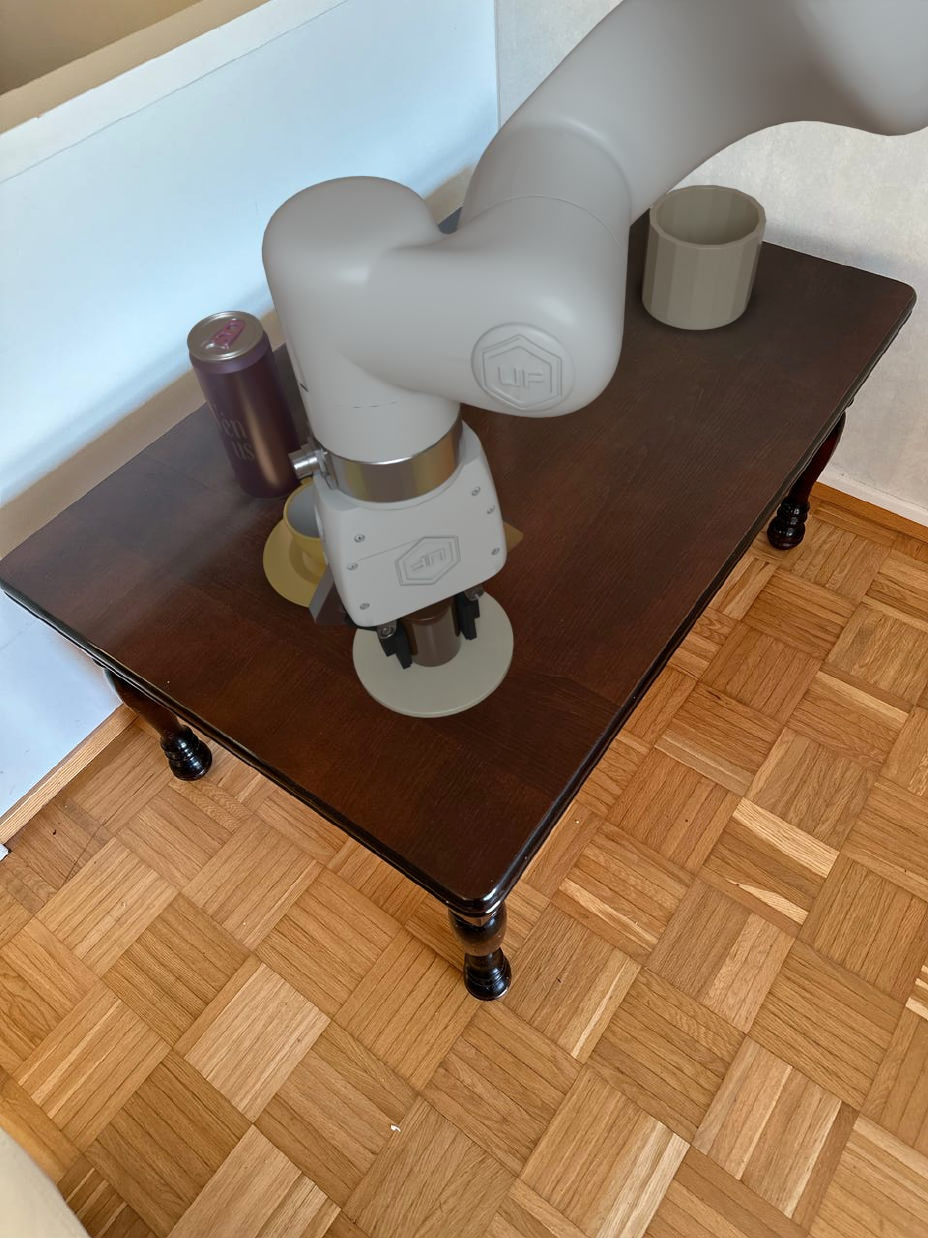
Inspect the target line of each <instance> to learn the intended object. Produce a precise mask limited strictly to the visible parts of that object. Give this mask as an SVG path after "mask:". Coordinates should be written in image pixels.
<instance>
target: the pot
mask: <svg viewBox="0 0 928 1238" xmlns="http://www.w3.org/2000/svg"><path fill="white" fill-rule="evenodd" d="M765 211H766V210H765V207H764V206H763V205H761V203H760V202H759V201H758V200H757V199H756V198H755V197H754V196H752V195H750V194H748V193H746V192H743V191H742V190H739V189H737V188H734V187H728V186H723V185H718V184H698V185H697V184H695V185H688V186H685V187H680V188H677V189H673V190H670V191H669V192H668V193H666V194H665V195H664V196H663V197H662V198H661V199H659V200H658V201H657V202H656V203H655V204H654V205H652V206H651V207H650V208H649V211H648V219H647V232H646V240H645V241H646V242H645V252H644V262H643V271H642V280H641V302H642V304H643V307H644V308H645V310H646V311H647V313H648V314H649V315H651V316H652V317H653V318H654V319H656V320H657V321H659V322H660V323H663V324H665V325H667V326H669V327H673V328H677V329H681V330H688V331H689V330H691V331H706V330H713V329H717V328H721V327H724V326H726V325H729V324H731V323H732V322H734V321H736V320H737V319H738V318H740V317H741V316H742V315H743V314H744V313H745V311H746V309H747V307H748V305H749V301H750V299H751V296H752V290H753V286H754V281H755V276H756V273H757V268H758V263H759V258H760V253H761V249H762V244H763V239H764V235H765V230H766V225H767V217H766V212H765Z"/></svg>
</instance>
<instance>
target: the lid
mask: <svg viewBox="0 0 928 1238" xmlns="http://www.w3.org/2000/svg"><path fill="white" fill-rule="evenodd" d="M478 602H479V610H480V617H479V618H477V619H475V625H476V633H477V638H475V639H473V640H471V641H470V640H469V639H468V640H466V639H465V637H464V636H463V634H462V632H461V630H460V625H459V619H458V612H457V606H456V600H455V594H454V595H452V596H450V597H448V598H445V599H443V600H441V601H438V602H436V603H434V604H431V605H429V606H426V607H424V608H422V609H419V610H417V611H414V612H412V613H410V614H407V615H405V616H402V617H400V618H397V619H398V620H399V622H400V624H401V626H402V627H403V629H404V631H405V634H406V637H407V641H408V645H409V650H410V654H411V658H412V662H413V664H411V667H409V668H407V669H403V668H402V666H401V664H400V662H399V660H398V658H397V656H396V654H393V655H391V656H389V657H387V656H386V655H385V653H384V651H383V649H382V647H381V644H380V642H379V639H378V636H377V633H376V632H375V631H368V630H362V629H356V631H355V635H354V639H353V644H352V661H353V665H354V669H355V672H356V675H357V677H358V680H359V682H360V683H361V685H362V687H363V689H364V690H366V692H367V694H369V696H371V697H372V698H373V699H374V700H375V701H376V702H378V703H379V704H380V705H382V706H383V707H385V708H388V709H389V710H390V711H393V712H396V713H398V714H401V715H405V716H408V717H409V716H410V717H414V718H426V719H427V718H441V717H447V716H451V715H455V714H458V713H461V712H464V711H467V710H469V709H470V708H473V707H474V706H477V705H478V704H480V703H481V702H482V701H484V700H485V699H486V698H488V697H489V696H490V695H491V694H493V692H494V691H495V690H496V689H497V688H498V687H499V686H500V684H502V682H503V680H504V679H505V677H506V675H507V673H508V671H509V669H510V667H511V664H512V660H513V656H514V650H515V649H514V647H515V645H514V644H515V640H514V632H513V626H512V624H511V621H510V619H509V616H508V615H507V613H506V611H505V610H504V608H503V607H502V606H501V604H500V603H499V602H498V601H497V600H496V599H495V598H494V597H493V596H491V595H490V594H489V593H488V592H486V591H484V594H483V595H482V596H481V597H480V598H479V599H478Z"/></svg>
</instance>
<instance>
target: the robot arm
mask: <svg viewBox="0 0 928 1238" xmlns="http://www.w3.org/2000/svg"><path fill="white" fill-rule="evenodd" d="M798 122H815V123H817V122H818V123H824V124H830V125H834V126H842V127H847V128H850V129H855V130H860V131H863V132H867V133H870V134H873V135H879V136H885V137H895V136H897V137H898V136H906V135H909V134H913V133H916V132H920V131H922V130H924V129H925V128H928V0H622V1H621V2H620V3H618V4H617V5H616V6H615V7H614V8H612V9H611V10H610V11H609V12H608V13H607V14H606V15H605V16H604V17H603V18H601V20H600V21H598V23H596V25H595V26H594V27H593V28H592V29H591V30H590V31H589V32H588V33H587V34H585V36H584V37H582V39H581V40H580V41H579V42H578V43H577V45H575V46H574V47H573V48H572V49H571V51H569V52H568V54H566V56H565V57H563V59H562V60H560V62H559V63H558V64H557V66H555V67H554V69H553V70H552V71H551V72H550V73H549V74H548V75H547V76H546V77H545V78H544V80H543V81H542V82H541V83H540V84H539V85H537V87H536V88H535V89H534V90H533V91H532V92H531V93H530V94H529V95H528V97H526V99H525V100H524V101H523V102H522V103H520V106H519V107H517V108H516V110H515V111H514V112H513V113H512V114H511V116H509V118H508V119H507V120H506V121H505V122H504V123H503V124H502V126H501V127H500V128H499V129H498V130H497V132H496V133H495V134H494V136H493V137H492V139H491V140H490V142H489V143H488V145H487V146H486V148H485V149H484V151H483V152H482V153H481V156H480V158H479V159H478V162H477V164H476V166H475V168H474V170H473V172H472V175H471V176H470V180H469V182H468V186H467V189H466V192H465V196H464V199H463V203H462V206H461V211H460V213H459V214H460V215H459V218H458V222H457V225H456V230H455V231H453V232H452V233H445V232H442V231H441V230H440V228H439V223H438V222H437V219H436V217H435V215H434V212H433V210H432V209H431V206H429V204H428V202H426V201H425V199H424V198H423V197H421V195H420V194H419V193H418V192H416V191H415V190H414V189H412V188H411V187H409V186H407V185H404V184H403V183H401V182H397V181H396V180H392V179H388V178H385V177H380V176H374V175H373V176H372V175H371V176H370V175H352V176H350V175H349V176H342V177H336V178H331V179H327V180H324V181H321V182H317V183H315V184H312V185H310V186H307V187H305V188H303V189H301V190H300V191H298V192H296V193H295V194H292V196H290V197H288V198H287V199H286V200H285V201H284V202H283V203H282V204H281V205H280V206H279V207H278V208H277V209H276V210H275V211H274V212H273V213H272V215H271V216H270V218H269V219H268V222H267V224H266V227H265V229H264V231H263V236H262V242H261V262H262V266H263V271H264V275H265V279H266V283H267V286H268V290H269V294H270V296H271V300H272V303H273V306H274V307H273V308H274V309H275V310H274V311H275V313H276V316H277V320H278V323H279V326H280V330H281V333H282V336H283V339H284V343H285V346H286V350H287V353H288V356H289V360H290V362H291V363H290V364H291V366H292V370H293V374H294V377H295V379H296V383H297V387H298V391H299V393H300V397H301V400H302V403H303V406H304V411H305V413H306V416H307V421H306V426H307V428H308V432H309V435H310V436H308V437H306V441H307V443H306V444H303V445H301V449H300V450H298V451H295V452H293V453H290V454H288V456H289V459H290V462H291V464H292V467H293V469H294V471H295V474H296V476H297V478H298V479H300V478H302V477H305V478H306V477H308V476H310V475H312V479H313V498H314V508H315V515H316V521H317V527H318V532H319V537H320V542H321V546H322V550H323V554H324V558H325V562H326V565H327V568H326V570H325V572H324V574H323V576H322V578H321V580H320V583H319V585H318V587H317V589H316V591H315V593H314V595H313V598H312V600H311V602H310V604H309V606H308V607H307V609H308V611H309V613H310V616H311V618H312V620H313V622H314V624H315V625H316V626H318V627H320V626H321V627H324V626H325V627H327V626H329V627H332V626H335V627H337V626H342V625H347V626H348V627H349V628H351V629H356V630H357V629H362V630H368V631H375V632H376V633H377V636H378V639H379V642H380V644H381V647H382V649H383V651H384V653H385V655H386V656H387V657H389V656H391V655H393V654H396V656H397V658H398V660H399V662H400V664H401V666H402V668H403V669H407V668H409V667H411V664H413V662H412V658H411V654H410V650H409V645H408V641H407V637H406V634H405V631H404V629H403V627H402V626H401V624H400V622H399V620H398V619H397V618H400V617H402V616H405V615H407V614H410V613H412V612H414V611H417V610H419V609H422V608H424V607H426V606H429V605H431V604H434V603H436V602H438V601H441V600H443V599H445V598H448V597H450V596H452V595H454V594H455V600H456V606H457V612H458V619H459V625H460V630H461V632H462V634H463V636H464V637H465V639H466V640H468V639H469V640H470V641H471V640H473V639H475V638H477V633H476V625H475V619H477V618H479V617H480V610H479V602H478V599H479V598H480V597H481V596H482V595H483V594H484V592H485V588H484V586H483V585H484V584H485V583H486V581H488V580H489V579H490V578H492V577H494V576H495V575H497V574H498V573H499V572H500V571H501V570H502V569H503V567H504V565H505V564H506V561H507V557H508V556H507V555H508V554H509V553H510V552H511V551H512V550H514V549H515V548H516V547H517V546H518V545H519V544H520V543H521V542H522V541H523V540H524V538H525V534H524V533H523V531H522V529H521V528H520V527H519V525H518V524H517V522H516V521H515V520H514V519H512V518H511V517H509V516H508V515H507V514H505V513H503V512H502V511H501V506H500V501H499V498H498V494H497V489H496V486H495V482H494V478H493V474H492V472H491V468H490V464H489V461H488V458H487V454H486V453H485V449H484V447H483V445H482V443H481V440H480V438H479V437H478V435H477V434H476V433H475V431H474V430H473V429H472V428H471V427H470V426H469V425H468V424H467V423H466V421H464V419H463V414H462V406H461V404H466V405H468V406H471V407H476V408H479V409H482V410H487V411H490V412H495V413H499V414H504V415H510V416H514V417H515V416H516V417H522V418H533V419H534V418H536V419H542V418H554V417H562V416H564V415H568V414H571V413H574V412H576V411H580V410H581V409H583V408H585V407H586V406H588V405H589V404H591V403H592V402H593V401H595V400H596V399H597V398H598V397H599V396H600V395H601V394H602V393H603V392H604V390H605V389H606V388H607V387H608V385H609V384H610V382H611V380H612V378H613V377H614V375H615V373H616V370H617V368H618V363H619V361H620V358H621V357H620V356H621V351H622V346H623V339H624V338H623V336H624V324H625V309H626V308H625V307H626V291H627V289H626V288H627V277H628V275H627V273H628V253H629V240H630V239H629V237H630V227H631V226H632V225H634V223H635V222H636V221H638V219H640V217H642V215H643V214H645V213H646V212H647V211H648V210H650V209H651V208H652V206H653V205H654V204H655V203H656V202H657V201H658V200H659V199H661V198H662V197H663V196H664V195H665V194H667V193H669V192H670V191H672V189H674V188H675V187H676V186H677V185H678V184H679V183H681V182H682V181H683V180H684V179H685V178H687V177H688V176H689V175H691V173H693V172H694V171H695V170H697V169H698V168H699V167H700V166H702V165H703V164H705V163H706V162H707V161H708V160H710V159H712V157H714V156H716V155H717V154H719V153H720V152H722V151H724V150H725V149H726V148H727V147H729V146H731V145H733V144H735V143H737V142H738V141H740V140H742V139H745V138H747V137H748V136H750V135H754V134H755V133H758V132H760V131H762V130H765V129H768V128H771V127H775V126H779V125H783V124H788V123H789V124H790V123H798Z"/></svg>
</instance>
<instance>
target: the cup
mask: <svg viewBox="0 0 928 1238" xmlns="http://www.w3.org/2000/svg"><path fill="white" fill-rule="evenodd" d="M300 483H301V485H300V487H299V488H297V489H296V490H295V491H294V492H293V493H292V494H290V495H289V496H288V498H287V500H286V501H285V504H284V507H283V513H282V518H281V520H279V521H278V523H277V524H276V525H275V526H274V528H273V529H272V530H271V532H270V534H269V535H268V537H267V540H266V542H265V545H264V549H263V554H262V566H263V571H264V573H265V576H266V578H267V580H268V582H269V584H270V585H271V587H272V588H273V589H274V590H275V592H277V593H278V594H279V595H280V596H282V597H283V598H284V599H287V600H288V601H290V602H292V603H294V604H296V605H299V606H302V607H306V608H308V606H309V604H310V602H311V600H312V598H313V595H314V593H315V591H316V589H317V587H318V585H319V583H320V580H321V578H322V576H323V574H324V572H325V570H326V568H327V565H326V562H325V558H324V554H323V550H322V546H321V542H320V537H319V532H318V527H317V521H316V515H315V508H314V498H313V477H311V476H306V477H305V478H304V479H302V480H301V481H300Z"/></svg>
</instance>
